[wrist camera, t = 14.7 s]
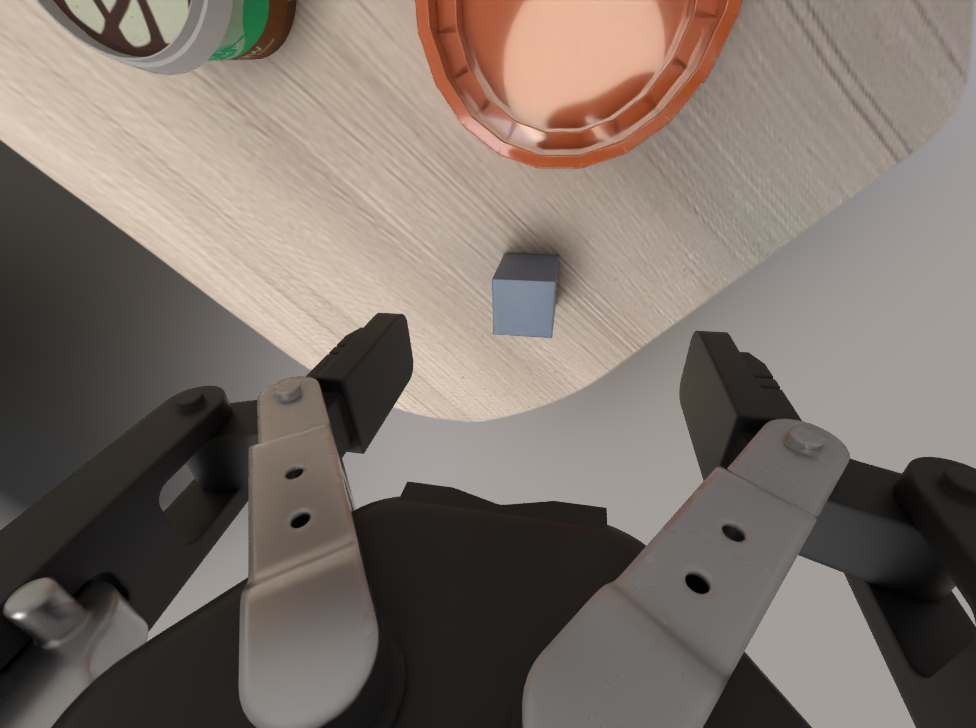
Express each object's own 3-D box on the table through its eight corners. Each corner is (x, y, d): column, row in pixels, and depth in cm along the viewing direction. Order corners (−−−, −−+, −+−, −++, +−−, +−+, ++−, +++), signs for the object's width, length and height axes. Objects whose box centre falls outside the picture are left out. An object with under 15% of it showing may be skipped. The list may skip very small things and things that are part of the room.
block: (559, 254, 34) (555, 281, 29) (555, 305, 37) (552, 338, 32) (504, 253, 35) (492, 278, 30) (504, 302, 37) (493, 334, 32)
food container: (216, 104, 33) (94, 107, 25) (164, 8, 30) (6, -26, 22) (347, 40, 29) (254, 17, 21) (301, -77, 26) (173, -157, 18)
